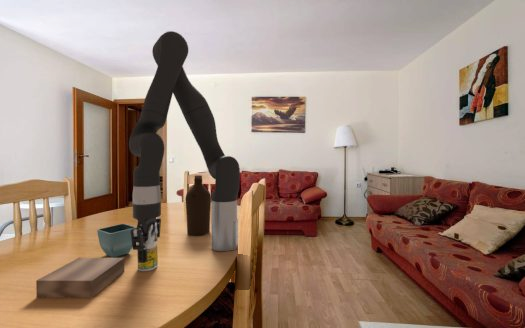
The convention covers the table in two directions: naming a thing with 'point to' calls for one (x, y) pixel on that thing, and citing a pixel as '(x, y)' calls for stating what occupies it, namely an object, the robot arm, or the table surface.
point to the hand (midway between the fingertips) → (147, 257)
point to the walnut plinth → (80, 278)
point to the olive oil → (198, 208)
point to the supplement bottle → (150, 255)
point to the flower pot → (116, 239)
